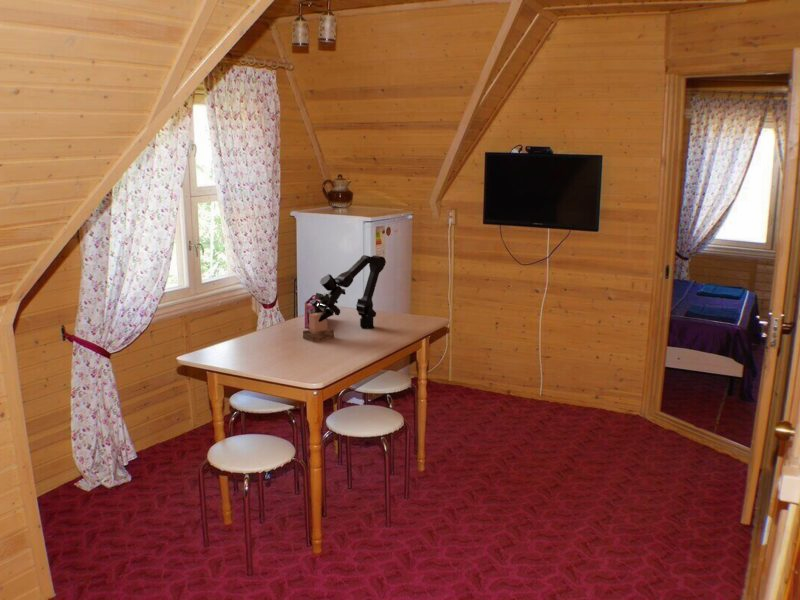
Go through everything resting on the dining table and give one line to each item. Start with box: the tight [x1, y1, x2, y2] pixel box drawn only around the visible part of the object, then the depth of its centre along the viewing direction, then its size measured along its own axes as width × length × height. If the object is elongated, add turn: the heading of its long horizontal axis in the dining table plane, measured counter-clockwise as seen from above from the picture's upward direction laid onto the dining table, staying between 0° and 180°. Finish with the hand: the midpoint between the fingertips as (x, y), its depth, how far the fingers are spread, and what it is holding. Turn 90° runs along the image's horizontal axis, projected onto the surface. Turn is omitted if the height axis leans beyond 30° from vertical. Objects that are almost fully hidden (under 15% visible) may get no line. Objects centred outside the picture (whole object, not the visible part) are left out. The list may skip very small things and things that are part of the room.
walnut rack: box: [302, 329, 335, 343], centre depth 374 cm, size 13×9×4 cm
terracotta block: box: [308, 312, 329, 334], centre depth 373 cm, size 8×4×10 cm, turn 133°
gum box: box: [304, 294, 324, 329], centre depth 403 cm, size 24×8×14 cm, turn 175°
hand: (316, 320), depth 372 cm, fingers closed on terracotta block, 4 cm apart
